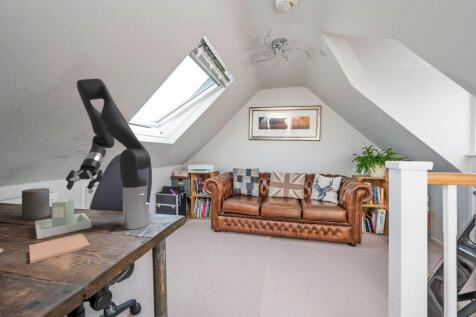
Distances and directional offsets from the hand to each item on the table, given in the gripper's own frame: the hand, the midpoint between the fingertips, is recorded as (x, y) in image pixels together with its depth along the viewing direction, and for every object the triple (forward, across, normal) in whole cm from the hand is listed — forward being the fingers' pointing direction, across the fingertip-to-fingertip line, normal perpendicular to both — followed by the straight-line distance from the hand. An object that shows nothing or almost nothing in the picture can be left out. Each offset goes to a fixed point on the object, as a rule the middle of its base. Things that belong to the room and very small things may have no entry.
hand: (78, 188), depth 93 cm
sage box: (+17, 0, +3) cm, 18 cm away
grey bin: (+18, 0, +3) cm, 18 cm away
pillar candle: (+4, -24, +17) cm, 30 cm away
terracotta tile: (+30, +10, -9) cm, 33 cm away
